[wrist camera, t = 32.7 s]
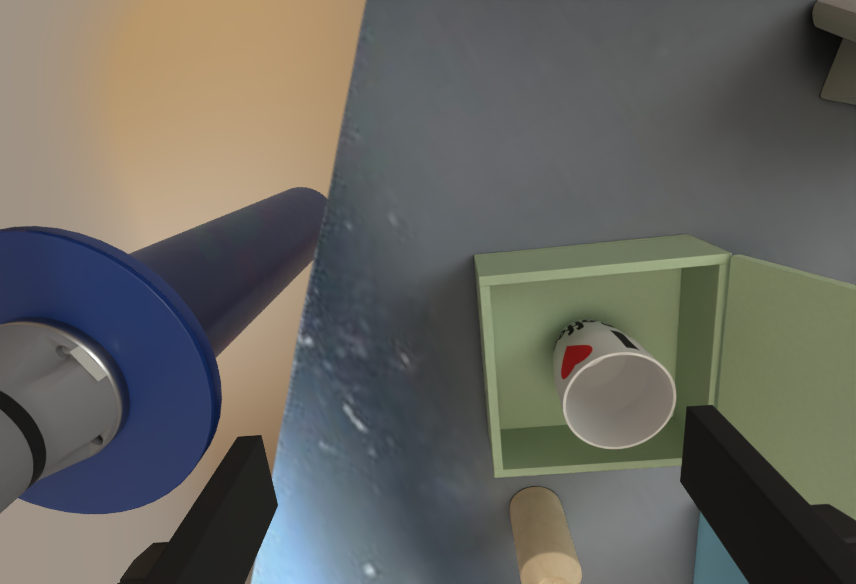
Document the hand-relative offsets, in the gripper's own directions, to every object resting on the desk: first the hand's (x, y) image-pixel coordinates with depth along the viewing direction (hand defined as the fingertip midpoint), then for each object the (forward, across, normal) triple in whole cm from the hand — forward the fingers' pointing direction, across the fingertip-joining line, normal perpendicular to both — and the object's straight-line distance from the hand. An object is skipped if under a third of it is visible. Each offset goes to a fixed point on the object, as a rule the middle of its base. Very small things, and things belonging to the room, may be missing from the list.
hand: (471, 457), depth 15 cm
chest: (+29, +11, -10) cm, 33 cm away
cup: (+29, +11, -10) cm, 33 cm away
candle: (+30, +7, -30) cm, 42 cm away
